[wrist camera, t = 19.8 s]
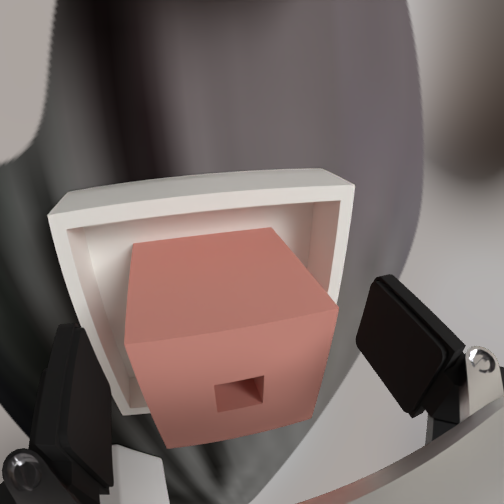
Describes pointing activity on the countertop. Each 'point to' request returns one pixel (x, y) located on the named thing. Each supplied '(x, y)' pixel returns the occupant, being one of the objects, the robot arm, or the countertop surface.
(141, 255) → the red block small bore
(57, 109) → the countertop surface
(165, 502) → the jar
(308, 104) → the countertop surface
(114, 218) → the tray
